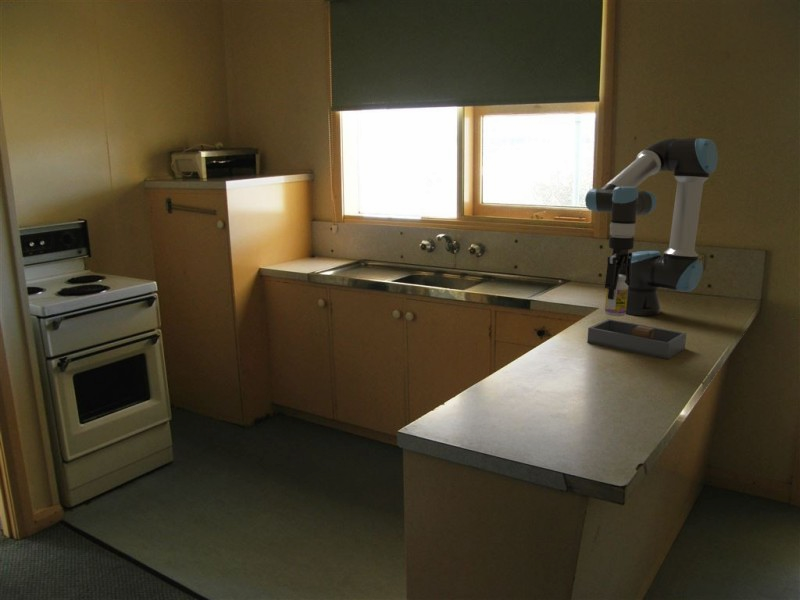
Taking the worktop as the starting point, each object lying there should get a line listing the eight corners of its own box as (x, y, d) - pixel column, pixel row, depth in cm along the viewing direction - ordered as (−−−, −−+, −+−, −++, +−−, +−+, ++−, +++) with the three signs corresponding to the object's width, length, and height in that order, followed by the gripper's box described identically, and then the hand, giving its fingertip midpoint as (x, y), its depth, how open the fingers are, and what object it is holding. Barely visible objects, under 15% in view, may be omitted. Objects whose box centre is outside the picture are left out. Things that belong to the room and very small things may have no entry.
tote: (607, 333, 238) (608, 318, 237) (684, 348, 221) (686, 333, 220) (587, 342, 227) (588, 327, 225) (667, 359, 210) (669, 343, 209)
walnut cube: (637, 340, 226) (638, 325, 225) (652, 343, 223) (654, 328, 222) (631, 343, 222) (632, 328, 221) (646, 347, 219) (647, 331, 218)
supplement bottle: (605, 316, 224) (608, 276, 221) (603, 311, 230) (606, 272, 227) (627, 317, 223) (630, 277, 220) (624, 312, 229) (628, 273, 226)
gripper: (623, 232, 230) (617, 300, 236) (597, 238, 216) (591, 310, 221) (645, 234, 226) (639, 303, 231) (620, 240, 211) (614, 314, 216)
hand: (615, 306), depth 226 cm, fingers closed on supplement bottle, 7 cm apart
